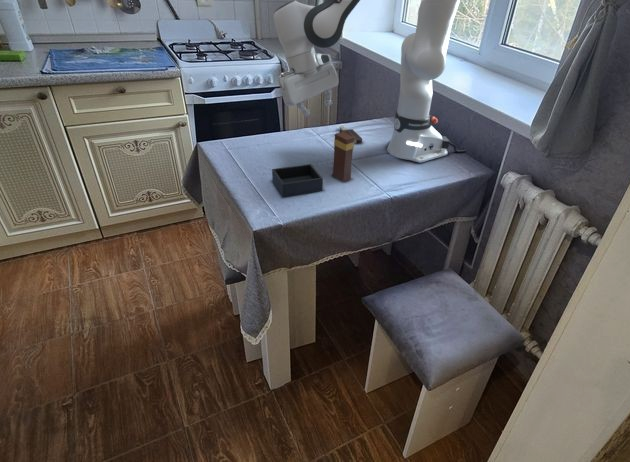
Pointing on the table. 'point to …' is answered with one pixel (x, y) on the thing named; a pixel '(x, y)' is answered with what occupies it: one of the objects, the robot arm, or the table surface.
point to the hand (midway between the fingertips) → (318, 110)
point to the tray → (297, 180)
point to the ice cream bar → (352, 134)
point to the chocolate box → (343, 156)
